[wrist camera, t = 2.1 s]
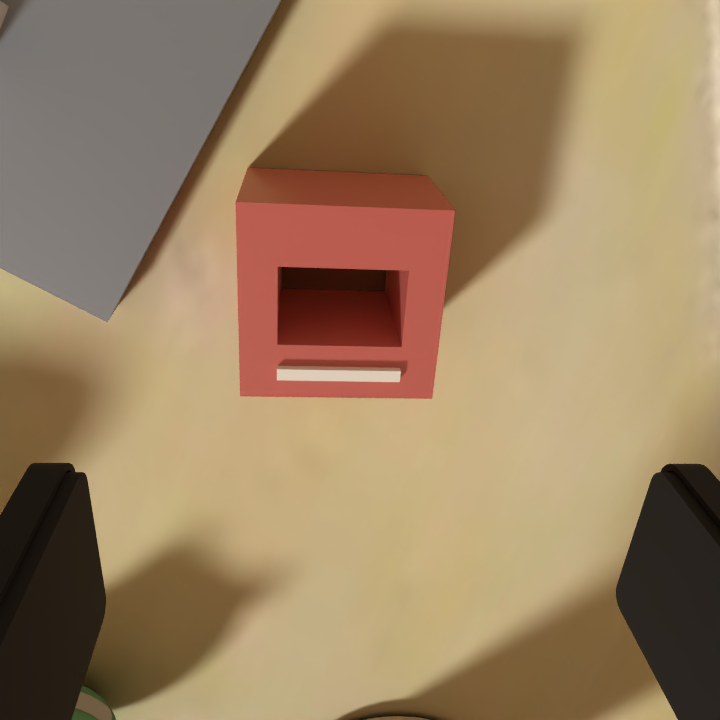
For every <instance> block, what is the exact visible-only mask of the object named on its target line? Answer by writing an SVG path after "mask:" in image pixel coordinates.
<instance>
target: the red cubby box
mask: <svg viewBox="0 0 720 720" xmlns="http://www.w3.org/2000/svg"><path fill="white" fill-rule="evenodd" d="M454 217H455V210H454V209H453V207H452V206H451V205H450V204H449V202H448V201H447V200H446V199H445V197H444V196H443V195H442V194H441V192H440V191H439V190H438V189H437V187H436V186H435V185H434V184H433V182H432V181H431V180H430V179H429V177H428V176H424V175H401V174H379V173H357V172H334V171H312V170H290V169H267V168H248V169H247V172H246V174H245V177H244V180H243V183H242V186H241V189H240V191H239V194H238V197H237V200H236V236H237V278H238V321H239V364H240V396H261V397H342V398H423V399H432V395H433V387H434V379H435V371H436V363H437V355H438V346H439V338H440V330H441V322H442V314H443V306H444V298H445V290H446V282H447V274H448V265H449V257H450V249H451V241H452V233H453V225H454ZM281 267H305V268H337V269H369V270H386V282H385V292H383V291H347V290H311V289H281Z"/></svg>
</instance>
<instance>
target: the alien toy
mask: <svg viewBox="0 0 720 720" xmlns="http://www.w3.org/2000/svg"><path fill="white" fill-rule="evenodd" d="M72 720H116V718H115V715H114V714H113V712H112V710H111V708H110V707H109V706H108V704H107V703H106V702H105V700H104V699H103V698H102V697H101V696H100V695H98V694H97V693H96V692H95V691H93V690H91V689H90V688H87V687H85V686H83V685H82V688H81V691H80V694H79V697H78V701H77V704H76V707H75V710H74V713H73V716H72Z"/></svg>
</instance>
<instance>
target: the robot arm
mask: <svg viewBox="0 0 720 720" xmlns="http://www.w3.org/2000/svg"><path fill="white" fill-rule="evenodd" d="M616 598H617V603H618V606H619V609H620V611H621V613H622V615H623V616H624V618H625V620H626V622H627V624H628V626H629V628H630V630H631V632H632V633H633V635H634V637H635V639H636V641H637V643H638V645H639V647H640V649H641V650H642V652H643V654H644V656H645V658H646V660H647V662H648V664H649V666H650V668H651V669H652V671H653V673H654V675H655V677H656V679H657V681H658V683H659V685H660V686H661V688H662V690H663V692H664V694H665V696H666V698H667V700H668V702H669V703H670V705H671V707H672V709H673V711H674V713H675V715H676V717H677V719H678V720H720V481H719V480H718V479H717V478H716V477H715V476H714V475H713V473H712V472H711V471H710V470H709V469H708V468H707V467H706V466H704V465H701V464H668V465H665V466H664V467H663V468H662V470H661V472H659V473H656V474H654V475H653V477H652V479H651V482H650V485H649V488H648V491H647V494H646V498H645V501H644V504H643V507H642V510H641V513H640V516H639V519H638V522H637V525H636V528H635V531H634V534H633V537H632V541H631V544H630V547H629V550H628V553H627V556H626V559H625V562H624V565H623V568H622V571H621V574H620V577H619V580H618V584H617V588H616ZM105 606H106V595H105V588H104V582H103V575H102V569H101V563H100V557H99V550H98V544H97V538H96V531H95V525H94V519H93V512H92V506H91V500H90V493H89V487H88V481H87V477H86V474H85V473H83V472H75V469H74V467H73V465H72V464H70V463H33V464H31V465H30V466H29V467H28V469H27V470H26V472H25V474H24V476H23V477H22V479H21V481H20V482H19V484H18V486H17V488H16V489H15V491H14V493H13V494H12V496H11V498H10V500H9V501H8V503H7V505H6V506H5V508H4V510H3V512H2V513H1V515H0V720H72V716H73V713H74V710H75V707H76V704H77V701H78V697H79V694H80V691H81V688H82V685H83V682H84V679H85V675H86V672H87V669H88V666H89V663H90V660H91V657H92V653H93V650H94V647H95V644H96V641H97V638H98V635H99V631H100V628H101V625H102V622H103V618H104V614H105ZM365 720H430V719H425V718H420V717H407V716H389V717H375V718H370V719H365Z"/></svg>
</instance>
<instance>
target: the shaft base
mask: <svg viewBox="0 0 720 720" xmlns="http://www.w3.org/2000/svg"><path fill="white" fill-rule="evenodd" d="M281 2H282V0H0V268H1V269H3V270H5V271H7V272H9V273H11V274H13V275H15V276H17V277H19V278H21V279H23V280H25V281H27V282H29V283H31V284H33V285H35V286H37V287H39V288H41V289H43V290H45V291H47V292H49V293H51V294H53V295H55V296H57V297H59V298H61V299H63V300H65V301H67V302H69V303H70V304H72V305H74V306H76V307H78V308H80V309H82V310H84V311H86V312H88V313H90V314H92V315H94V316H96V317H98V318H100V319H102V320H104V321H106V322H108V320H109V319H110V317H111V316H112V314H113V312H114V311H115V309H116V308H117V306H118V304H119V302H120V301H121V299H122V297H123V295H124V293H125V291H126V289H127V288H128V286H129V284H130V282H131V280H132V278H133V276H134V275H135V273H136V271H137V269H138V267H139V265H140V263H141V262H142V260H143V258H144V256H145V254H146V252H147V250H148V249H149V247H150V245H151V243H152V241H153V239H154V237H155V236H156V234H157V232H158V230H159V228H160V226H161V225H162V223H163V221H164V219H165V217H166V215H167V213H168V212H169V210H170V208H171V206H172V204H173V202H174V200H175V199H176V197H177V195H178V193H179V191H180V189H181V187H182V186H183V184H184V182H185V180H186V178H187V176H188V174H189V173H190V171H191V169H192V167H193V165H194V163H195V161H196V160H197V158H198V156H199V154H200V152H201V150H202V149H203V147H204V145H205V143H206V141H207V139H208V137H209V136H210V134H211V132H212V130H213V128H214V126H215V124H216V123H217V121H218V119H219V117H220V115H221V113H222V111H223V110H224V108H225V106H226V104H227V102H228V100H229V98H230V97H231V95H232V93H233V91H234V89H235V87H236V85H237V84H238V82H239V80H240V78H241V76H242V74H243V72H244V71H245V69H246V67H247V65H248V63H249V61H250V60H251V58H252V56H253V54H254V52H255V50H256V48H257V47H258V45H259V43H260V41H261V39H262V37H263V35H264V34H265V32H266V30H267V28H268V26H269V24H270V22H271V21H272V19H273V17H274V15H275V13H276V11H277V9H278V8H279V6H280V4H281Z"/></svg>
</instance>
